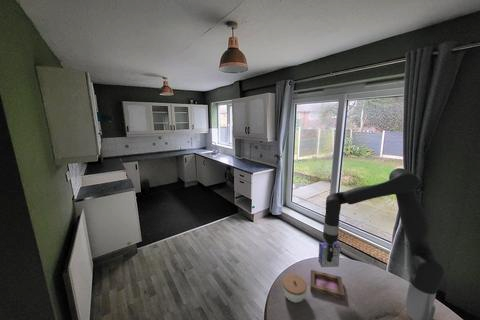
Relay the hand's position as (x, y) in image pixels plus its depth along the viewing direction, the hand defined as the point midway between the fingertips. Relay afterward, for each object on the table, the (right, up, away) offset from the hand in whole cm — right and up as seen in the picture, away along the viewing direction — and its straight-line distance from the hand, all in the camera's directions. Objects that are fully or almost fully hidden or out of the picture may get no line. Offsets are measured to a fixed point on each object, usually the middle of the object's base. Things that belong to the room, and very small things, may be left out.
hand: (328, 257), depth 107 cm
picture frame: (0, -19, +4) cm, 20 cm away
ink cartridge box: (0, -4, +1) cm, 4 cm away
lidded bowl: (-20, -21, -2) cm, 29 cm away
